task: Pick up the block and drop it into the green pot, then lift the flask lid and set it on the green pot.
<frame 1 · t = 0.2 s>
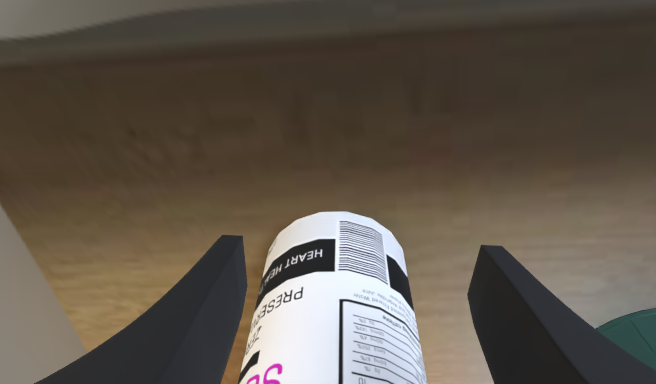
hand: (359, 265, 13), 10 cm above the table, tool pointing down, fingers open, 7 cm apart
supplement can: (336, 257, 26), on the table
green pot: (642, 359, 30), on the table
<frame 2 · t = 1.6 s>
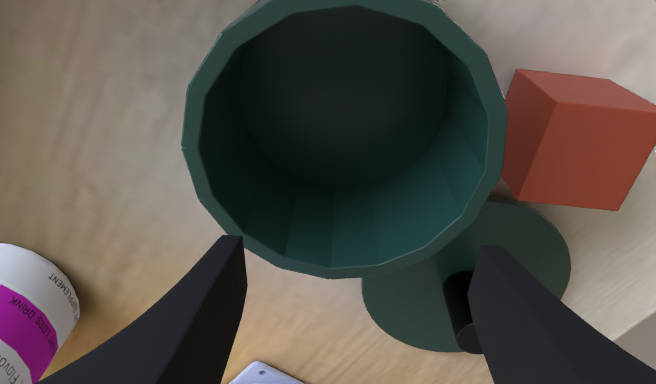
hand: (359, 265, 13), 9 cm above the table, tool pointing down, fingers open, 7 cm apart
block: (544, 118, 20), on the table
flask lid: (461, 280, 24), point 1 cm above the table
supplement can: (20, 284, 26), on the table
green pot: (342, 95, 19), on the table
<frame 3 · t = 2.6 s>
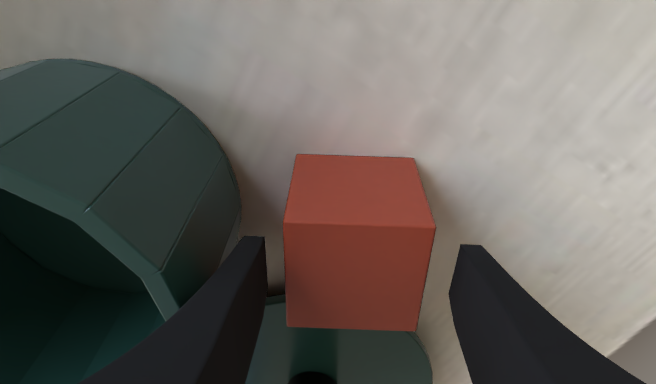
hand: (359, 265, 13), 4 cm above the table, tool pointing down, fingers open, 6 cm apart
block: (351, 204, 16), on the table
flask lid: (313, 377, 21), point 1 cm above the table
green pot: (106, 196, 16), on the table
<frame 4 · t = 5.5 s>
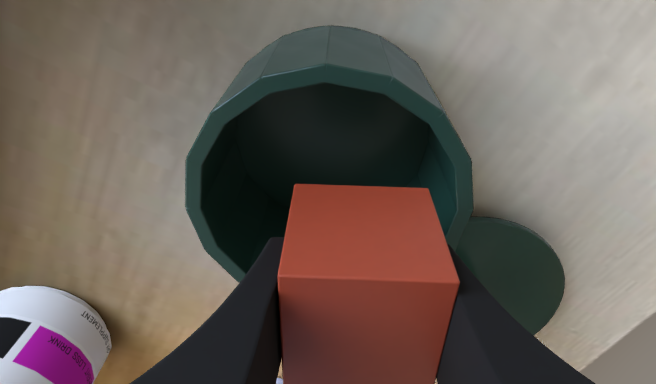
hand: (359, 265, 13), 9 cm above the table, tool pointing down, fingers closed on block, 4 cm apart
block: (357, 238, 14), point 8 cm above the table, touching gripper
flask lid: (461, 294, 25), point 1 cm above the table
supplement can: (56, 320, 29), on the table
green pot: (331, 136, 21), on the table
when the fingers open (5 cm above the table, at t = 7.4 s): block drops 3 cm, resting on green pot.
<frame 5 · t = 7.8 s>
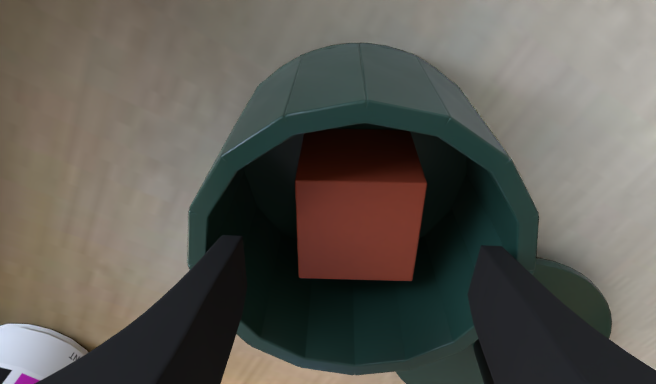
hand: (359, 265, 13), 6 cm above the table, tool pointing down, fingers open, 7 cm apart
block: (355, 174, 18), resting on green pot
flask lid: (493, 337, 23), point 1 cm above the table
supplement can: (42, 359, 26), on the table
green pot: (354, 167, 18), on the table
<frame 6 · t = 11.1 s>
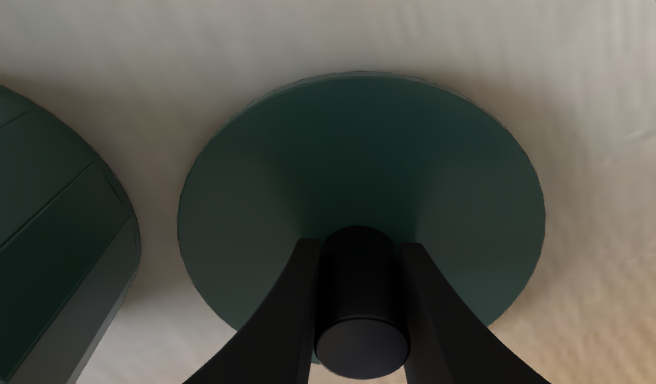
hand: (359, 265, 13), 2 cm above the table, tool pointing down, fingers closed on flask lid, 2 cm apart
flask lid: (357, 244, 14), point 1 cm above the table, touching gripper
when the fingers open (7 cm above the table, at t = 14.8 s): flask lid stays where it is, resting on green pot.
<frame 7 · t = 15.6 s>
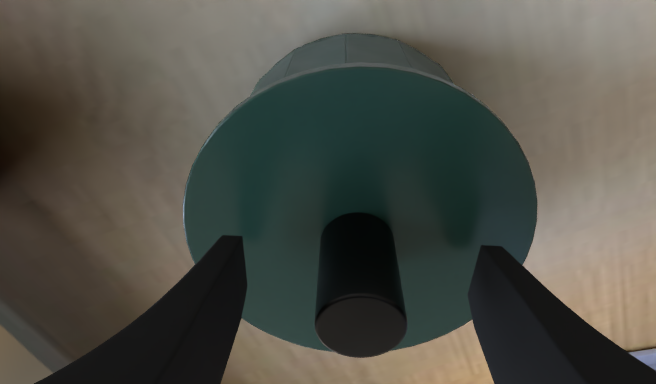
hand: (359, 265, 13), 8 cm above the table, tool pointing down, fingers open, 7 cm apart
flask lid: (356, 232, 14), point 6 cm above the table, touching green pot
green pot: (353, 149, 20), on the table
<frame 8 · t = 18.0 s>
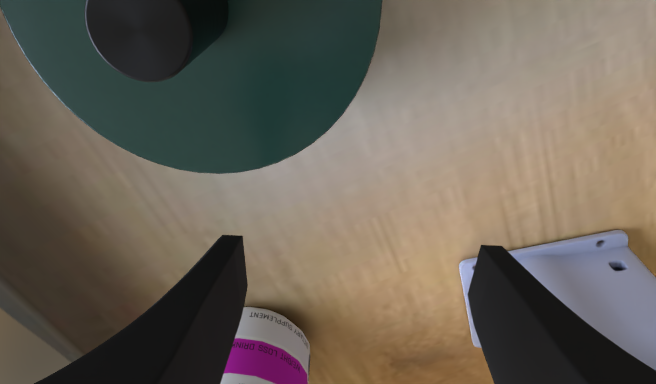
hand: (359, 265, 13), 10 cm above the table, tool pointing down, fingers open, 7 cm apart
flask lid: (193, 2, 13), point 6 cm above the table, touching green pot
supplement can: (255, 338, 31), on the table
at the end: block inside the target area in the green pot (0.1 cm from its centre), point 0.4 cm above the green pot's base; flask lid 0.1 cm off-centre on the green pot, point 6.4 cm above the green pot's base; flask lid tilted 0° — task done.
